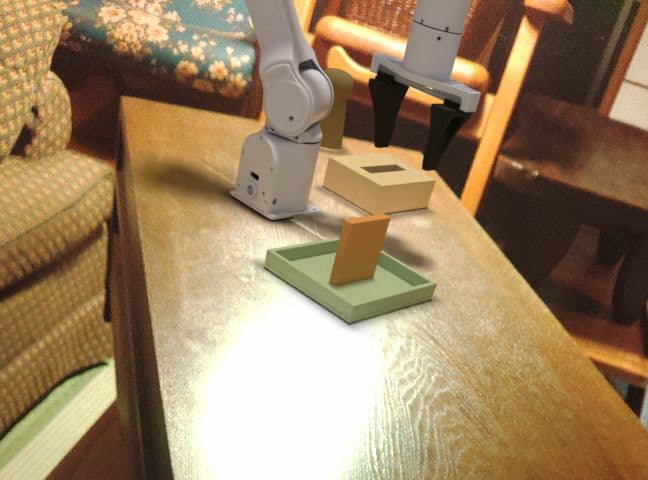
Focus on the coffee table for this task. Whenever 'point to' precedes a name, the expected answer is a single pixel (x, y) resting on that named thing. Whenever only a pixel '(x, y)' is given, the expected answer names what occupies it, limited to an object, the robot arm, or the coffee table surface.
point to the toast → (359, 248)
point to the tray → (355, 297)
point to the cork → (336, 108)
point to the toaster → (378, 183)
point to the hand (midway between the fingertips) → (404, 158)
